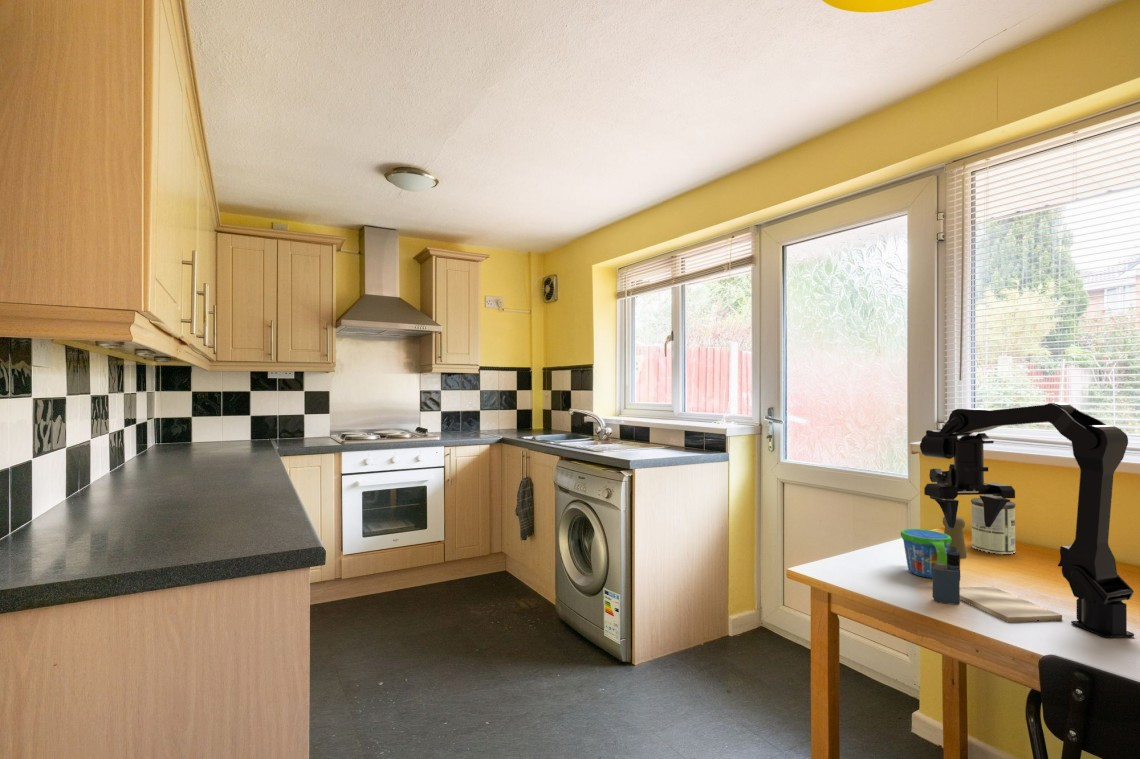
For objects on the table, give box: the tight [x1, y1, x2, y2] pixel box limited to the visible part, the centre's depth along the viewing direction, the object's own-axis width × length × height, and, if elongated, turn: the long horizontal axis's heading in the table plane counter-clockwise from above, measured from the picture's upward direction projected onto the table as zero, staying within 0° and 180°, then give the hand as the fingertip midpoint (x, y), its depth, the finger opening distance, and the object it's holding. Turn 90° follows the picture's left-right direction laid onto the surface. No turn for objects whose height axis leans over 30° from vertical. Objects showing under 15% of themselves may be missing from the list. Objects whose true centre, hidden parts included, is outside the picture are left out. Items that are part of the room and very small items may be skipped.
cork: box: [942, 515, 968, 559], centre depth 154 cm, size 6×6×11 cm
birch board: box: [960, 586, 1063, 623], centre depth 118 cm, size 16×12×1 cm
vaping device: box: [932, 546, 961, 605], centre depth 120 cm, size 3×5×12 cm, turn 78°
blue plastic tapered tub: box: [900, 528, 952, 579], centre depth 138 cm, size 16×10×10 cm
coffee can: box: [970, 497, 1017, 555], centre depth 160 cm, size 10×10×14 cm
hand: (969, 527), depth 130 cm, fingers open, 9 cm apart
